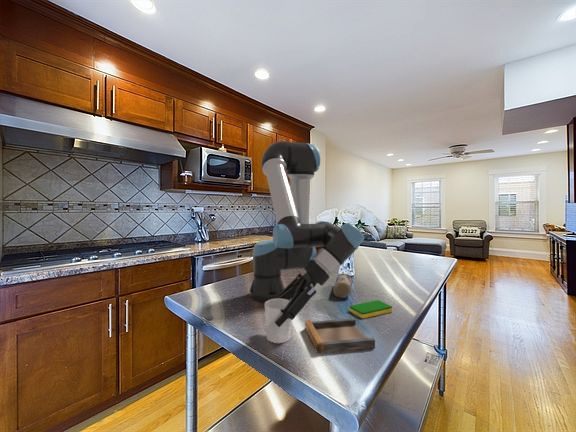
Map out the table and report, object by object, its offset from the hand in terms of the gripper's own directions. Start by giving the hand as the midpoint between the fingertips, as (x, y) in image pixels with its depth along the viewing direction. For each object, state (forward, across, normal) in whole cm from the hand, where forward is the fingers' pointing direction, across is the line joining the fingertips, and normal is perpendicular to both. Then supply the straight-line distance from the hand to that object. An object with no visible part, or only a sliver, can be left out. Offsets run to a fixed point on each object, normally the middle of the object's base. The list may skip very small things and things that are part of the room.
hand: (266, 325), depth 73 cm
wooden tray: (-12, -3, -17) cm, 21 cm away
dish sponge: (-24, +13, -30) cm, 41 cm away
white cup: (0, 0, -5) cm, 5 cm away
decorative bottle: (-25, +38, -31) cm, 55 cm away
